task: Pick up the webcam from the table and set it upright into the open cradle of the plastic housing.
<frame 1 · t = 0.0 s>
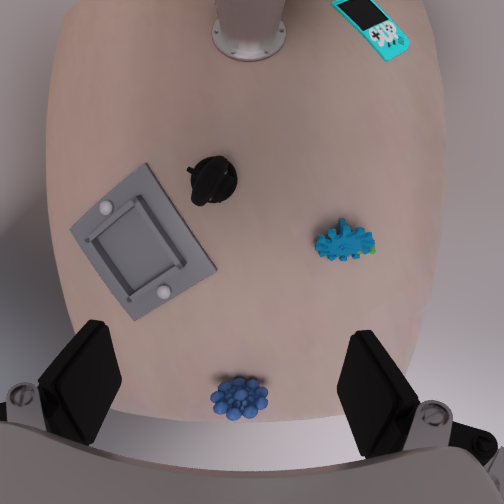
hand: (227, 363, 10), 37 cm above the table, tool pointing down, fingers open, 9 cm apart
handheld game console: (371, 25, 36), on the table
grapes: (239, 381, 56), on the table
webcam: (214, 179, 44), on the table
housing: (137, 247, 46), on the table
gear: (340, 239, 47), on the table
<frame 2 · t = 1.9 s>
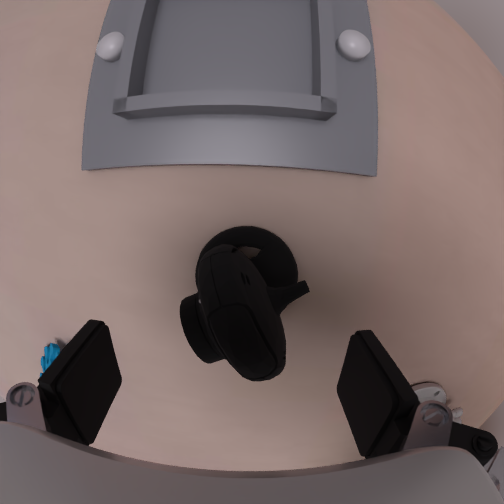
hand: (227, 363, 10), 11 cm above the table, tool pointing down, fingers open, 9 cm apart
webcam: (246, 273, 21), on the table
housing: (229, 41, 16), on the table
gear: (69, 370, 24), on the table
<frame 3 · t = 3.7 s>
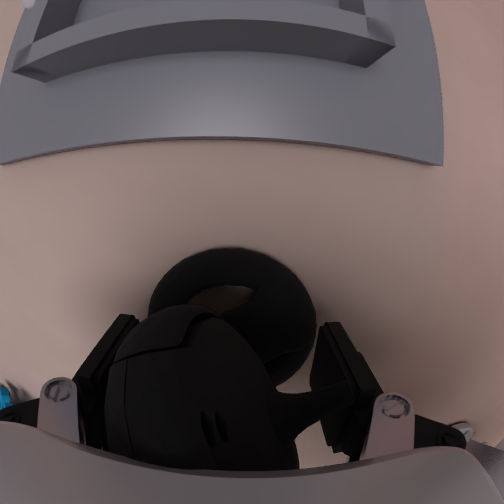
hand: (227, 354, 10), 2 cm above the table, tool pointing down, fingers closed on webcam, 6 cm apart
webcam: (231, 322, 13), on the table, touching gripper
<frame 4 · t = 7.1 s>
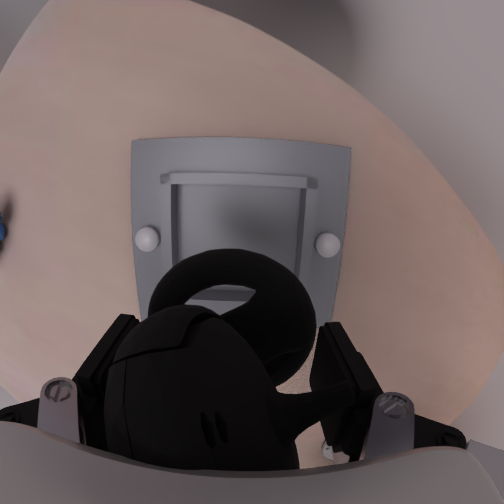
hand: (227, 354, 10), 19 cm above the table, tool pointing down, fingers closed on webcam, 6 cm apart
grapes: (1, 226, 27), on the table
webcam: (231, 322, 13), point 17 cm above the table, touching gripper
housing: (237, 237, 28), on the table
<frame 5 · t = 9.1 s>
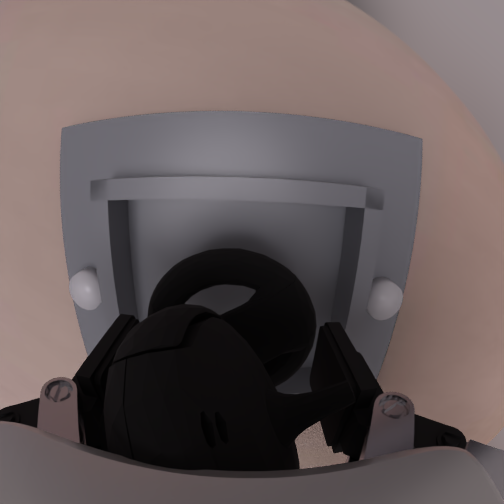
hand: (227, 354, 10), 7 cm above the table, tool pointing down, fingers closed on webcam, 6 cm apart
webcam: (231, 322, 13), point 4 cm above the table, touching gripper
housing: (233, 286, 17), on the table
when the fingers open (5 cm above the table, at t = 10.6 s): webcam drops 1 cm, resting on housing.
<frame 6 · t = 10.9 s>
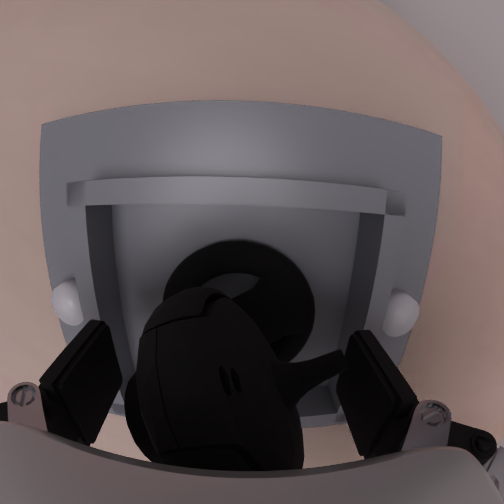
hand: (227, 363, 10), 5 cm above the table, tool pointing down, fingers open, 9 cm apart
webcam: (237, 309, 14), point 1 cm above the table, touching housing
housing: (232, 301, 15), on the table
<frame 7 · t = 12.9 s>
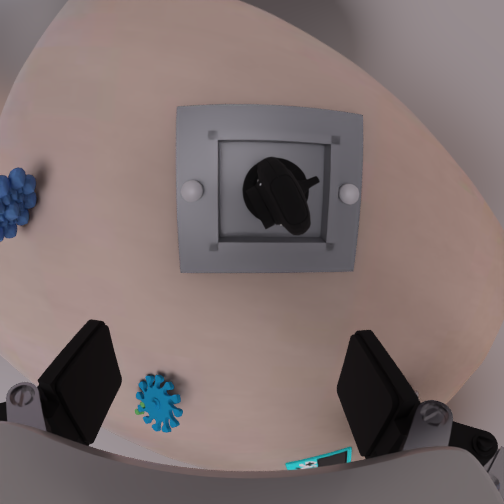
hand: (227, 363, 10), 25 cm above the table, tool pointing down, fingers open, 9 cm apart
handheld game console: (319, 461, 52), on the table
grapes: (31, 196, 30), on the table
webcam: (275, 190, 31), point 1 cm above the table, touching housing
housing: (271, 189, 32), on the table
gear: (160, 388, 41), on the table
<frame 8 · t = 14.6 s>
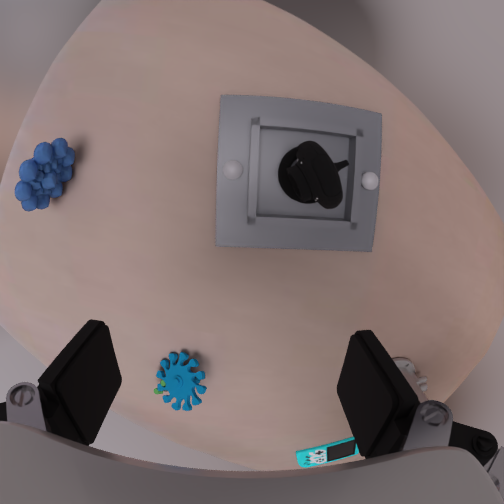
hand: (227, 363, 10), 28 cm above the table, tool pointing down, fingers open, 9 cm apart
handheld game console: (328, 450, 54), on the table
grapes: (66, 170, 34), on the table
webcam: (305, 174, 34), point 1 cm above the table, touching housing
housing: (302, 173, 35), on the table
gear: (181, 368, 44), on the table
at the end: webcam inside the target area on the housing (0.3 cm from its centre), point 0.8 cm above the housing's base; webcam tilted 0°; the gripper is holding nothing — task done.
